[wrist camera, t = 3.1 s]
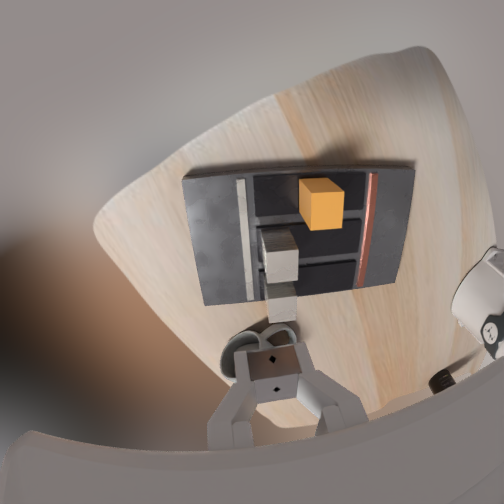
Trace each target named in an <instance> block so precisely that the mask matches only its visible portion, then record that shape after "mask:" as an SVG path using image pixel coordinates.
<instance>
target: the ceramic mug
mask: <svg viewBox="0 0 504 504" xmlns="http://www.w3.org/2000/svg"><path fill="white" fill-rule="evenodd" d="M281 330H286V331H287V333H288V336H289V337H290V339H289V342H288V344H294V343H296V341H297V337H296V334H295V332H294V331H293V330H292V329H291V328H290V327H289V326H288V325H286V324H283V323H278V324H274V325H271V326H270V327H268V328H267V329H265V330H264V331H263V332H262V333H260V334H258V333H257V332H255V331H244V332H241V333H239V334H237V335H236V336H235V337H233V338H232V339H231V340H230V341H229V342H228V344H227V345H226V347H225V348H224V350H223V352H222V355H221V359H220V369H221V373H222V374H223V376H224V377H225V378H226V379H228V380H230V381H232V382H234V383H237V381H236V371H235V362H234V352H237V351H246V350H255V349H264V348H269V347H274V346H273V345H272V344H271V343H269V342H268V341H267V340H266V339H267V338H268V337H270V336H271V335H273V334H274V333H276V332H278V331H281ZM246 354H247V353H246Z"/></svg>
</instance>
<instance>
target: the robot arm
mask: <svg viewBox="0 0 504 504" xmlns="http://www.w3.org/2000/svg"><path fill="white" fill-rule="evenodd" d="M452 314H453V315H454V316H455V317H456V318H457V319H458V324H459V325H460V326H461V327H463V326H465V327H466V329H467V330H468V331H469V332H470V333H471V334H472V335H473V336H474V337H475V338H476V339H477V340H478V341H479V342H480V343H481V344H484V346H485V348H486V350H487V351H488V353H489V355H490V356H492V358H493V359H495V361H493V362H492V363H490V364H489V365H487V366H486V367H484V368H482V369H481V370H479V371H478V372H476V373H474V374H472V375H471V376H469V377H467V378H466V379H464V380H462V381H460V382H458V383H456V384H455V385H453V386H451V387H449V388H447V389H445V390H443V391H441V392H439V393H437V394H435V395H433V396H431V397H429V398H427V399H424V400H422V401H420V402H418V403H415V404H413V405H411V406H408V407H406V408H403V409H401V410H398V411H396V412H394V413H391V414H388V415H385V416H382V417H380V418H377V419H374V420H371V421H369V420H368V417H367V415H366V412H365V410H364V408H363V405H362V403H361V401H360V398H359V397H358V396H356V395H355V394H353V393H352V392H350V391H349V390H347V389H346V388H344V387H343V386H341V385H340V384H338V383H337V382H336V381H334V380H333V379H331V378H330V377H328V376H327V375H325V374H324V373H323V372H321V371H320V370H315V368H314V365H313V362H312V360H311V357H310V354H309V351H308V349H307V346H306V343H305V342H300V343H294V344H287V345H282V346H276V347H269V348H264V349H255V350H246V351H237V352H234V362H235V371H236V381H237V383H233V385H232V386H231V388H230V389H229V391H228V393H227V394H226V396H225V397H224V399H223V400H222V402H221V403H220V405H219V406H218V408H217V409H216V411H215V412H214V414H213V415H212V417H211V418H210V420H209V421H208V423H207V434H208V451H195V452H194V451H193V452H169V451H168V452H167V451H147V450H133V449H122V448H114V447H107V446H100V445H93V444H88V443H82V442H77V441H72V440H67V439H63V438H59V437H55V436H50V435H47V434H43V433H40V432H36V431H29V432H26V433H25V434H23V435H22V436H21V437H20V438H19V439H17V440H16V441H15V442H14V443H13V444H12V445H11V446H10V447H9V448H8V450H7V452H6V454H5V457H4V459H3V462H2V466H1V470H0V504H504V250H502V249H498V248H490V249H489V250H488V252H487V253H486V254H485V256H484V257H483V259H482V260H481V261H480V262H479V263H478V264H477V265H476V266H475V267H474V268H473V269H472V270H471V271H470V272H469V274H468V275H467V276H466V277H465V279H464V280H463V282H462V283H461V285H460V286H459V288H458V290H457V292H456V294H455V296H454V299H453V302H452ZM246 353H247V354H246ZM290 398H297V399H298V400H299V401H300V402H301V403H302V404H303V405H304V406H305V407H306V408H307V409H308V410H310V411H311V412H312V413H313V414H314V415H315V416H316V417H317V418H318V419H319V423H318V426H317V429H316V432H315V436H314V437H310V438H305V439H300V440H296V441H290V442H285V443H279V444H273V445H266V446H259V447H254V441H253V436H252V430H251V425H250V423H249V421H250V419H251V417H252V415H253V413H254V411H255V409H256V407H257V404H259V403H265V402H271V401H276V400H283V399H290Z"/></svg>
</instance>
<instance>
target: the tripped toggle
mask: <svg viewBox="0 0 504 504" xmlns="http://www.w3.org/2000/svg"><path fill="white" fill-rule="evenodd" d="M343 206H344V191H343V190H342V189H341V188H340V187H338V186H337V185H336V184H335V183H334V182H332V181H331V180H330V179H329V178H309V179H299V212H300V214H301V216H302V217H303V219H304V220H305V222H306V224H307V225H308V227H309V229H310V230H311V231H312V230H324V229H337V228H342V219H343Z"/></svg>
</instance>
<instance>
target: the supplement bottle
mask: <svg viewBox="0 0 504 504" xmlns="http://www.w3.org/2000/svg"><path fill="white" fill-rule="evenodd" d="M455 384H456V382H455V381H454V379H453V377H452V376H451V374H450V372H449V371H448V370H442V371H440V372H438V373H437V374H436V375H434V376H433V377H432V378H431V379H430V381H429V387H430V389H431V391H432V393H433V394H434V395H435V394H437V393H439V392H441V391H443V390H445V389H447V388H449V387H451V386H453V385H455Z"/></svg>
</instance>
